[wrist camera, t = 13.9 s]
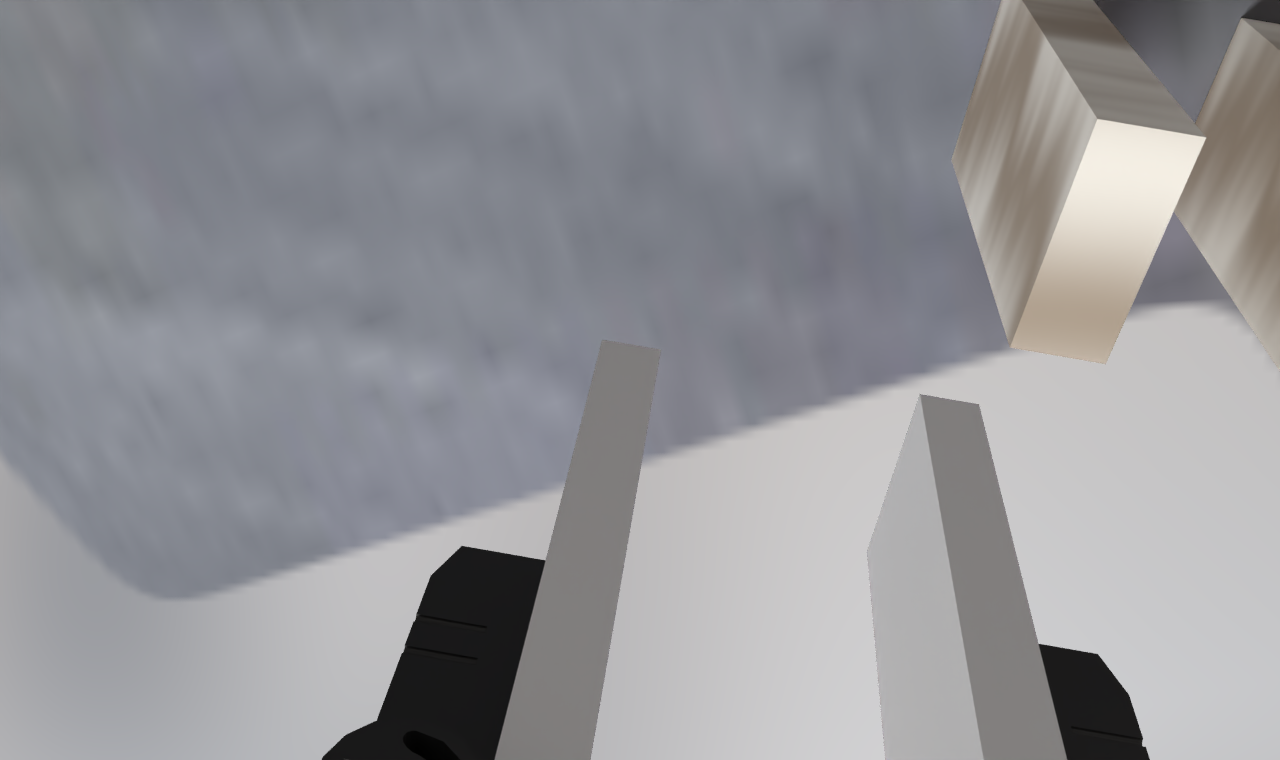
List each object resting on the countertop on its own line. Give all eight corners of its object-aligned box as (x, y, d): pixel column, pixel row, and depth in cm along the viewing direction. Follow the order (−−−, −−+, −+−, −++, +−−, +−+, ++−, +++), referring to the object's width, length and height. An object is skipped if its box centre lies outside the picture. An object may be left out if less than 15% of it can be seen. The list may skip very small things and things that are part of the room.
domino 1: (1008, -22, 29) (1097, 118, 21) (1085, -9, 29) (1206, 137, 21) (951, 159, 32) (1009, 347, 23) (1022, 171, 32) (1105, 364, 23)
